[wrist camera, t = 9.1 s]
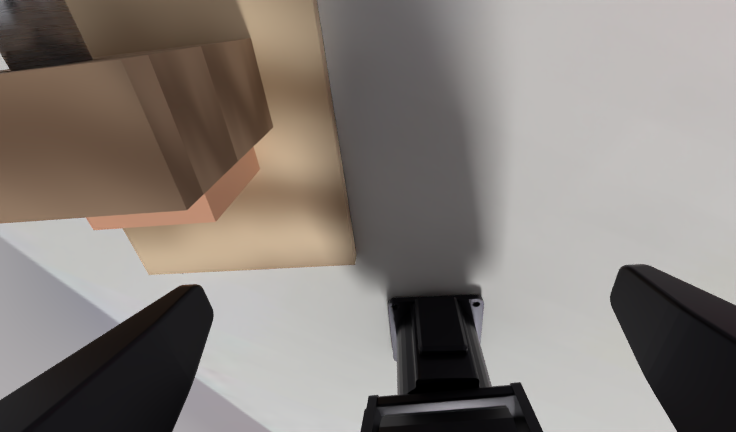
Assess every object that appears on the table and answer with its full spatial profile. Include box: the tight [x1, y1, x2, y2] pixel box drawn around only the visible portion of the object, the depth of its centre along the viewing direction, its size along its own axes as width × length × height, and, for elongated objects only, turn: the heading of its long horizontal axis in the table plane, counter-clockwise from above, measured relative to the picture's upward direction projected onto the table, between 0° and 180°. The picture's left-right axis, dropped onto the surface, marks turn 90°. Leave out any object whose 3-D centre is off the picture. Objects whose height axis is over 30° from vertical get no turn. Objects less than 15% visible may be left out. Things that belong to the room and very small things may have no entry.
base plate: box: [65, 0, 356, 275], centre depth 17 cm, size 23×14×1 cm, turn 6°
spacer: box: [86, 146, 260, 230], centre depth 16 cm, size 2×5×5 cm, turn 96°
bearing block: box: [0, 38, 273, 223], centre depth 13 cm, size 4×8×8 cm, turn 96°
